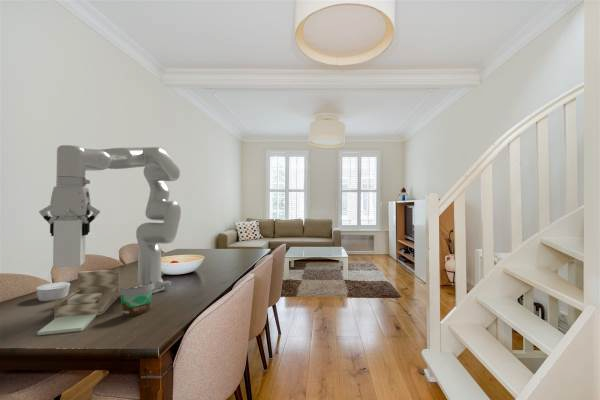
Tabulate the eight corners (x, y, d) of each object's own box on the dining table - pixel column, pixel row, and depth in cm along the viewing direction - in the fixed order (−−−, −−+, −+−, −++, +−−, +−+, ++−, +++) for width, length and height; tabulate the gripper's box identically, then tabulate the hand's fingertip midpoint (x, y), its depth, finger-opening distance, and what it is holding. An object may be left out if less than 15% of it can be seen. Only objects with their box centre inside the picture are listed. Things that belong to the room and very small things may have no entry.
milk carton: (52, 268, 90) (53, 208, 91) (59, 263, 97) (60, 207, 97) (80, 266, 94) (81, 208, 94) (85, 262, 100) (86, 208, 100)
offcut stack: (102, 307, 112) (102, 292, 112) (96, 313, 105) (96, 297, 105) (72, 310, 109) (72, 294, 109) (63, 316, 102) (63, 300, 102)
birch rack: (118, 297, 123) (118, 269, 123) (101, 314, 104) (102, 281, 104) (78, 300, 118) (79, 271, 118) (54, 319, 100) (54, 284, 100)
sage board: (95, 316, 102) (95, 313, 102) (81, 330, 91) (81, 327, 91) (56, 320, 99) (56, 317, 99) (37, 335, 88) (37, 332, 88)
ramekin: (50, 303, 115) (50, 290, 115) (28, 301, 117) (28, 288, 117) (76, 294, 126) (76, 282, 126) (56, 292, 128) (56, 281, 128)
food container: (127, 319, 100) (127, 291, 100) (118, 316, 103) (118, 288, 103) (160, 308, 110) (160, 283, 110) (151, 305, 114) (151, 280, 114)
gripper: (105, 184, 102) (104, 233, 101) (45, 182, 96) (44, 234, 96) (97, 183, 94) (96, 236, 94) (32, 181, 89) (31, 237, 89)
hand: (70, 235), depth 95 cm, fingers closed on milk carton, 7 cm apart
